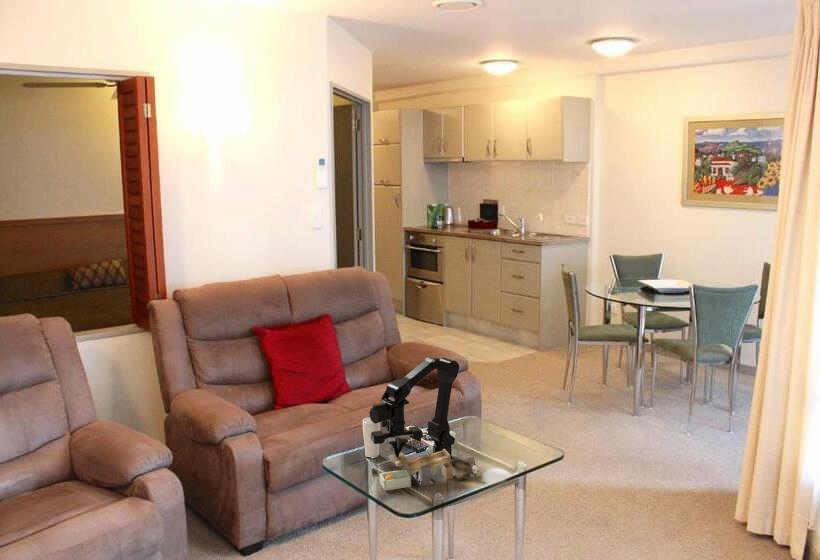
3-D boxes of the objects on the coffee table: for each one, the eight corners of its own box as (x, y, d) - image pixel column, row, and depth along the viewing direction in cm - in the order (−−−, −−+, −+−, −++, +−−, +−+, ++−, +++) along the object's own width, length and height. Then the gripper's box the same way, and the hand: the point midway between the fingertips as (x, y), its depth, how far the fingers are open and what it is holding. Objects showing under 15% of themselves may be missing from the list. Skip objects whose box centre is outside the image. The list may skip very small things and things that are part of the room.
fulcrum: (446, 470, 274) (446, 453, 273) (454, 481, 266) (454, 463, 265) (412, 475, 271) (412, 458, 269) (420, 486, 262) (419, 468, 261)
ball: (393, 477, 265) (388, 471, 264) (396, 481, 262) (391, 475, 261) (387, 483, 265) (381, 477, 264) (389, 487, 262) (384, 481, 261)
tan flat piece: (438, 446, 279) (437, 440, 278) (451, 461, 266) (450, 455, 265) (389, 460, 274) (388, 454, 273) (400, 476, 261) (399, 470, 260)
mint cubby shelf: (405, 478, 269) (405, 469, 268) (411, 486, 262) (411, 477, 262) (379, 482, 266) (379, 473, 265) (384, 490, 259) (384, 481, 259)
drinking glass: (373, 461, 283) (372, 424, 280) (359, 456, 287) (358, 420, 284) (384, 455, 289) (383, 419, 286) (371, 450, 293) (370, 415, 290)
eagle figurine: (470, 466, 275) (448, 465, 272) (477, 455, 270) (454, 454, 268) (475, 484, 270) (452, 483, 267) (482, 473, 265) (459, 473, 262)
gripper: (414, 406, 279) (414, 445, 282) (366, 412, 274) (367, 451, 277) (423, 417, 269) (423, 456, 272) (374, 422, 263) (374, 463, 266)
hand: (396, 456), depth 272 cm, fingers closed, pressing on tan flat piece
